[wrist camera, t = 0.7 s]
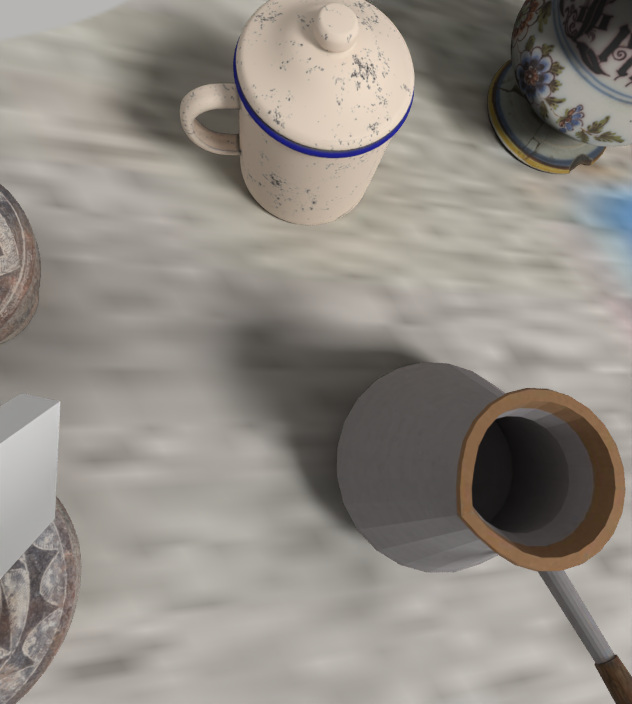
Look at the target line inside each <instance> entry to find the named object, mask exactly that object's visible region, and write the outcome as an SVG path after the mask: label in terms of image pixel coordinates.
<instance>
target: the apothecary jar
mask: <svg viewBox="0 0 632 704" xmlns="http://www.w3.org/2000/svg"><path fill="white" fill-rule="evenodd" d="M488 112H489V117H490V120H491V123H492V126H493V128H494V130H495V132H496V134H497V136H498V138H499V139H500V141H501V142H502V143H503V145H504V146H505V147H506V148H507V149H508V150H509V151H510V152H511V153H512V154H513V155H514V156H515V157H516V158H518V159H519V160H520V161H522V162H523V163H525V164H527V165H529V166H531V167H533V168H535V169H537V170H540V171H544V172H548V173H555V174H567V173H570V171H571V170H572V169H574V168H575V167H576V166H578V165H579V164H585V165H592V164H593V163H594V162H595V161H596V160H597V159H598V158H599V157H600V156H601V155H602V154H603V152H604V150H605V149H606V147H616V146H626V145H631V144H632V0H526V1H525V3H524V4H523V6H522V8H521V10H520V12H519V14H518V17H517V19H516V22H515V25H514V30H513V34H512V41H511V60H510V61H508V62H507V63H506V64H504V65H503V66H502V67H501V68H500V69H499V70H498V72H497V73H496V74H495V76H494V78H493V80H492V82H491V85H490V88H489V91H488Z"/></svg>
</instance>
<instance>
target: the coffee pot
mask: <svg viewBox="0 0 632 704" xmlns="http://www.w3.org/2000/svg"><path fill="white" fill-rule="evenodd" d="M337 479H338V483H339V487H340V491H341V495H342V499H343V504H344V506H345V507H346V509H347V511H348V513H349V515H350V517H351V519H352V521H353V523H354V524H355V526H356V528H357V530H358V531H359V532H360V533H361V534H362V535H363V536H364V537H365V538H366V539H367V540H368V542H369V543H370V544H371V545H372V546H373V547H374V548H375V549H376V550H377V551H379V552H380V553H382V554H384V555H385V556H387V557H388V558H390V559H392V560H393V561H395V562H397V563H398V564H400V565H403V566H406V567H410V568H414V569H417V570H421V571H424V572H456V571H459V570H462V569H466V568H469V567H472V566H475V565H478V564H481V563H483V562H485V561H487V560H489V559H491V558H493V557H495V556H497V555H500V556H501V557H503V558H505V559H506V560H508V561H509V562H511V563H513V564H514V565H517V566H520V567H524V568H527V569H531V570H534V571H538V573H539V574H540V576H541V577H542V579H543V580H544V582H545V584H546V585H547V587H548V588H549V590H550V592H551V593H552V595H553V596H554V598H555V599H556V601H557V603H558V604H559V606H560V607H561V609H562V611H563V612H564V614H565V615H566V617H567V618H568V620H569V622H570V623H571V625H572V626H573V628H574V630H575V631H576V633H577V634H578V636H579V637H580V639H581V641H582V642H583V644H584V645H585V647H586V648H587V650H588V652H589V653H590V655H591V656H592V658H593V660H594V661H595V667H596V668H597V670H598V672H599V674H600V676H601V677H602V679H603V681H604V683H605V685H606V687H607V688H608V690H609V692H610V694H611V696H612V697H613V699H614V701H615V703H616V704H632V676H631V675H630V673H629V672H628V670H627V669H626V668H625V666H624V665H623V663H622V662H621V660H620V659H619V657H618V656H617V655H614V653H613V651H612V650H611V648H610V646H609V645H608V643H607V641H606V640H605V638H604V636H603V635H602V633H601V631H600V630H599V628H598V626H597V625H596V623H595V621H594V620H593V618H592V616H591V615H590V613H589V611H588V610H587V608H586V606H585V605H584V603H583V601H582V600H581V598H580V596H579V595H578V593H577V591H576V590H575V588H574V586H573V585H572V583H571V581H570V580H569V578H568V576H567V575H566V573H565V571H564V570H565V569H568V568H571V567H574V566H577V565H580V564H583V563H584V562H586V561H587V560H588V559H590V558H591V557H593V556H594V555H595V554H597V553H598V552H599V551H601V549H602V548H603V547H604V545H605V544H606V543H607V542H608V540H609V539H610V538H611V536H612V535H613V534H614V532H615V529H616V527H617V524H618V522H619V519H620V517H621V515H622V511H623V504H624V497H625V479H624V468H623V464H622V461H621V458H620V455H619V452H618V449H617V446H616V443H615V442H614V440H613V438H612V437H611V435H610V433H609V432H608V430H607V428H606V427H605V425H604V424H603V423H602V422H601V421H600V420H599V419H598V418H597V416H596V415H595V414H594V413H593V412H592V411H591V410H590V409H589V408H587V407H586V406H584V405H583V404H581V403H579V402H578V401H576V400H575V399H573V398H572V397H570V396H568V395H565V394H561V393H558V392H555V391H552V390H549V389H536V388H525V389H521V390H517V391H513V392H509V393H506V394H505V393H504V392H503V391H501V390H500V389H499V388H497V387H496V386H495V385H493V384H492V383H490V382H488V381H487V380H485V379H484V378H482V377H480V376H479V375H477V374H476V373H474V372H473V371H470V370H466V369H463V368H460V367H457V366H454V365H451V364H444V363H423V362H422V363H418V364H414V365H409V366H405V367H401V368H397V369H396V370H394V371H392V372H390V373H388V374H386V375H385V376H383V377H381V378H379V379H377V380H376V381H375V382H374V383H373V384H372V385H371V386H370V387H369V388H368V389H367V390H366V391H365V392H364V393H363V394H362V395H361V396H360V397H359V398H358V399H357V401H356V402H355V404H354V406H353V407H352V409H351V411H350V413H349V414H348V416H347V418H346V419H345V421H344V425H343V428H342V432H341V436H340V439H339V443H338V447H337Z"/></svg>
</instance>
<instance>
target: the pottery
mask: <svg viewBox="0 0 632 704" xmlns="http://www.w3.org/2000/svg"><path fill="white" fill-rule="evenodd" d="M40 277H41V261H40V253H39V250H38V245H37V242H36V239H35V236H34V233H33V231H32V228H31V225H30V223H29V221H28V219H27V217H26V215H25V213H24V211H23V210H22V208H21V207H20V205H19V203H18V202H17V201H16V200H15V198H14V197H13V196H12V195H11V194H10V192H9V191H8V190H6V189H5V188H4V187H3V186H2V185H1V184H0V343H4V342H6V341H8V340H10V339H12V338H14V337H15V336H17V335H18V334H19V333H20V332H21V331H23V330H24V329H25V327H26V326H27V325H28V324H29V322H30V320H31V318H32V317H33V315H34V313H35V311H36V308H37V305H38V300H39V297H38V293H39V290H38V289H39V287H40ZM80 582H81V554H80V547H79V542H78V538H77V534H76V531H75V529H74V526H73V524H72V521H71V519H70V517H69V515H68V513H67V511H66V509H65V508H64V506H63V504H62V503H61V502H60V500H59V499H58V498H57V496H56V506H55V519H54V520H53V521H52V522H51V523H50V524H49V526H48V527H47V528H46V529H45V530H44V531H43V532H42V533H41V534H40V536H39V537H38V538H37V539H36V540H35V541H34V542H33V543H32V544H31V546H30V547H29V548H28V549H27V550H26V551H25V552H24V553H23V554H22V555H21V557H20V558H19V559H18V560H17V561H16V562H15V563H14V564H13V565H12V567H11V568H10V569H9V570H8V571H7V572H6V573H5V574H4V575H3V577H2V578H1V579H0V704H15V703H17V702H18V701H19V700H20V699H21V698H22V697H23V696H24V695H25V694H26V693H27V692H28V691H29V690H30V689H31V688H32V687H33V686H34V684H35V683H36V682H37V681H38V679H39V678H40V677H41V676H42V674H43V673H44V672H45V670H46V669H47V667H48V666H49V664H50V663H51V661H52V660H53V658H54V656H55V655H56V653H57V652H58V650H59V648H60V647H61V645H62V643H63V641H64V639H65V637H66V635H67V632H68V630H69V627H70V625H71V622H72V619H73V615H74V612H75V608H76V603H77V600H78V594H79V588H80Z"/></svg>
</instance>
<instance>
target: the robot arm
mask: <svg viewBox="0 0 632 704" xmlns="http://www.w3.org/2000/svg"><path fill="white" fill-rule="evenodd" d="M59 420H60V401H58V400H53V399H48V398H43V397H38V396H33V395H28V394H24V393H21V394H19V395H17V396H16V397H14V398H12V399H11V400H9V401H7V402H6V403H4V404H2V405H1V406H0V579H1V578H2V577H3V575H4V574H5V573H6V572H7V571H8V570H9V569H10V568H11V567H12V565H13V564H14V563H15V562H16V561H17V560H18V559H19V558H20V557H21V555H22V554H23V553H24V552H25V551H26V550H27V549H28V548H29V547H30V546H31V544H32V543H33V542H34V541H35V540H36V539H37V538H38V537H39V536H40V534H41V533H42V532H43V531H44V530H45V529H46V528H47V527H48V526H49V524H50V523H51V522H52V521H53V520H54V519H55V506H56V484H57V463H58V441H59Z"/></svg>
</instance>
